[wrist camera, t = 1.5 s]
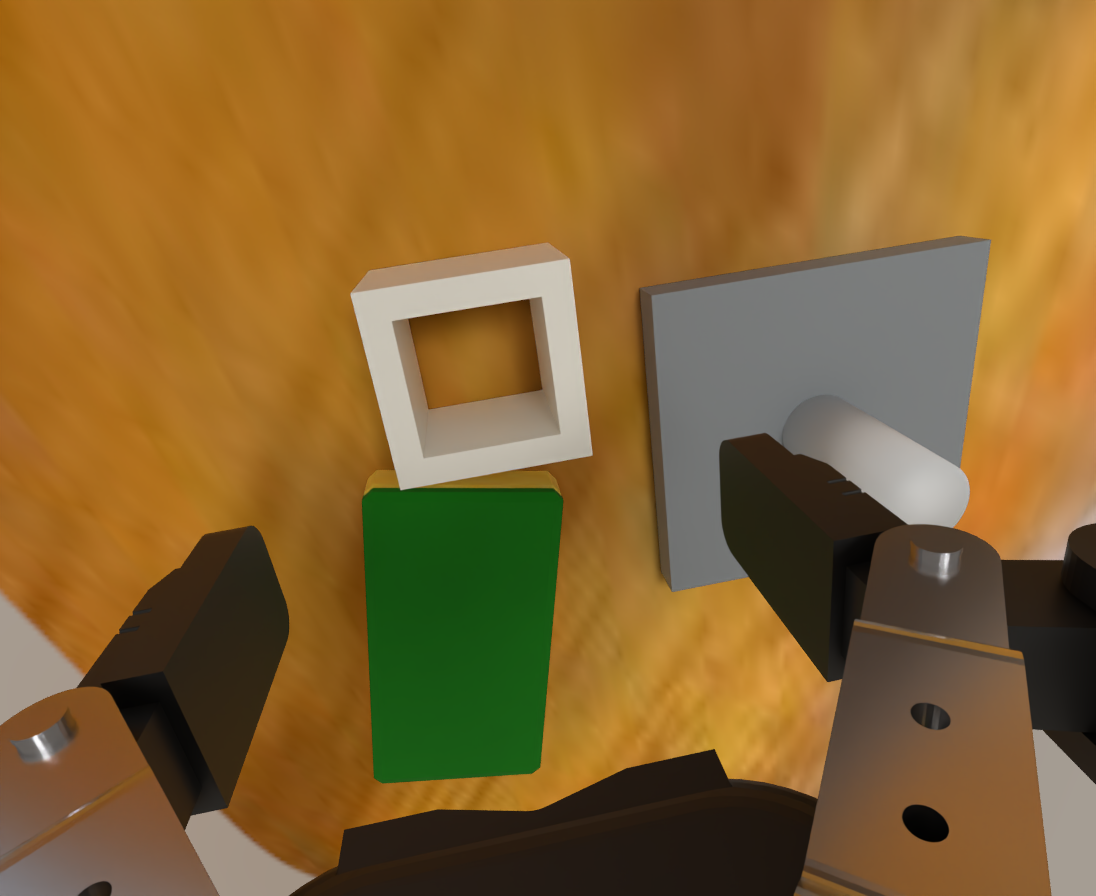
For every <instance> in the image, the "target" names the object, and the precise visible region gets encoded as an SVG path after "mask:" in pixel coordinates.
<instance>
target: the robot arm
mask: <svg viewBox="0 0 1096 896" xmlns="http://www.w3.org/2000/svg"><path fill="white" fill-rule="evenodd" d="M719 471H720V499H721V522H722V529H723V533H724V537H725V540H726V543H727V546H728V548H729V550H730V552H731V553H732V555H733V556H734V558H735V559H736V560H737V562H738V563H739V564H740V566H741V567H742V568H743V570H744V571H745V572H746V574H747V575H748V576H749V578H750V579H751V580H752V582H753V583H754V584H755V586H756V587H757V588H758V590H759V591H760V592H761V594H762V595H763V596H764V598H765V599H766V600H767V602H768V603H769V605H770V606H771V607H772V609H773V610H774V611H775V613H776V614H777V615H778V617H779V618H780V619H781V621H782V622H783V623H784V625H785V626H786V627H787V629H788V630H789V631H790V633H791V634H792V635H793V637H794V638H795V639H796V641H797V642H798V643H799V645H800V646H801V647H802V649H803V650H804V651H805V653H806V654H807V655H808V657H809V658H810V659H811V661H812V662H813V663H814V665H815V666H816V667H817V669H818V670H819V672H820V673H821V674H822V676H823V677H824V678H825V680H826V681H827V682H831V681H835V680H840V679H842V683H841V688H840V693H839V697H838V702H837V707H836V712H835V717H834V722H833V727H832V732H831V737H830V742H829V747H828V751H827V756H826V761H825V766H824V771H823V776H822V781H821V786H820V791H819V796H818V799H816V798H814V797H812V796H810V795H807V794H804V793H801V792H798V791H795V790H792V789H789V788H786V787H782V786H777V785H773V784H769V783H765V782H758V781H750V780H742V779H728V778H727V775H726V773H725V771H724V769H723V767H722V765H721V762H720V760H719V758H718V756H717V754H716V752H715V749H713V750H708V751H704V752H699V753H695V754H690V755H686V756H681V757H676V758H672V759H667V760H663V761H658V762H653V763H649V764H644V765H640V766H635V767H630V768H626V769H624V770H622V771H620V772H618V773H616V774H614V775H611V776H609V777H607V778H605V779H603V780H601V781H599V782H597V783H595V784H593V785H591V786H588V787H586V788H584V789H582V790H580V791H578V792H576V793H574V794H572V795H570V796H568V797H565V798H563V799H561V800H559V801H557V802H555V803H553V804H551V805H549V806H547V807H544V808H542V809H539V810H534V811H487V810H433V811H429V812H424V813H420V814H415V815H410V816H406V817H401V818H397V819H392V820H388V821H383V822H378V823H374V824H369V825H365V826H360V827H355V828H351V829H346V830H344V834H343V840H342V846H341V852H340V858H339V864H338V866H337V867H335V868H333V869H331V870H329V871H327V872H325V873H323V874H321V875H320V876H318V877H316V878H315V879H313V880H311V881H310V882H308V883H306V884H305V885H303V886H302V887H300V888H299V889H297V890H296V891H295V892H293V893H292V894H291V895H289V896H1051V888H1050V879H1049V870H1048V861H1047V853H1046V844H1045V836H1044V827H1043V818H1042V810H1041V801H1040V793H1039V784H1038V775H1037V767H1036V758H1035V749H1034V741H1033V732H1032V729H1037V730H1043V731H1044V732H1045V733H1046V734H1047V735H1048V736H1049V737H1050V738H1051V739H1052V740H1053V741H1054V742H1055V743H1056V744H1057V745H1058V746H1059V747H1060V748H1061V749H1062V750H1063V751H1064V753H1066V755H1067V756H1068V757H1069V758H1070V759H1071V760H1072V761H1073V762H1074V763H1075V764H1076V765H1077V766H1078V767H1079V768H1080V769H1081V770H1082V771H1083V772H1084V773H1085V774H1086V775H1087V776H1088V777H1089V778H1090V779H1091V780H1092V781H1093V782H1094V783H1095V784H1096V524H1090V525H1085V526H1082V527H1080V528H1077V529H1076V530H1074V531H1073V532H1072V533H1071V534H1070V535H1069V538H1068V542H1067V547H1066V552H1065V557H1064V560H1001V559H1000V556H999V554H998V553H997V551H996V550H995V549H994V548H993V547H992V546H991V545H989V544H988V543H987V542H985V541H984V540H982V539H980V538H978V537H977V536H974V535H972V534H970V533H967V532H964V531H961V530H958V529H954V528H950V527H945V526H939V525H930V524H911V525H908V524H907V523H905V522H904V521H903V520H901V519H900V518H899V517H897V516H896V515H895V514H893V513H892V512H891V511H890V510H888V509H887V508H886V507H884V506H883V505H882V504H880V503H879V502H878V501H876V500H875V499H874V498H872V497H871V496H870V495H868V494H867V493H866V492H863V493H862V491H861V488H859V487H858V486H857V485H855V484H854V483H853V482H851V481H850V480H849V481H847V480H846V477H845V476H843V475H842V474H841V473H839V472H838V471H837V470H835V469H834V468H833V467H832V466H830V465H829V464H827V463H825V462H822V461H819V460H816V459H814V458H811V457H808V456H805V455H803V454H796V455H793V454H792V453H791V452H790V451H788V450H787V449H786V448H785V447H783V446H782V445H781V444H780V443H779V442H777V441H776V440H775V439H774V438H772V437H771V436H770V435H768V434H767V433H761V434H755V435H750V436H744V437H739V438H733V439H728V440H723V441H722V443H721V445H720V449H719ZM119 631H120V634H117V635H115V636H114V638H113V639H112V640H111V642H110V643H109V644H108V646H107V647H106V648H105V650H104V651H103V653H102V654H101V655H100V657H99V658H98V659H97V661H96V662H95V663H94V665H93V666H92V667H91V669H90V670H89V672H88V673H87V674H86V676H85V677H84V678H83V680H82V681H81V682H80V684H79V685H78V687H77V688H75V689H71V690H67V691H64V692H61V693H57V694H55V695H52V696H50V697H47V698H45V699H43V700H41V701H39V702H36V703H35V704H33V705H31V706H29V707H27V708H25V709H24V710H22V711H20V712H19V713H17V714H16V715H14V716H13V717H11V718H10V719H9V720H7V721H6V722H4V723H3V724H2V725H0V896H220V895H219V894H218V892H217V890H216V888H215V886H214V885H213V883H212V881H211V879H210V877H209V875H208V873H207V872H206V870H205V868H204V866H203V864H202V862H201V860H200V858H199V856H198V855H197V853H196V851H195V849H194V847H193V845H192V844H191V842H190V840H189V838H188V836H187V834H186V832H185V829H186V826H187V824H188V821H189V819H190V816H191V815H196V814H200V813H205V812H210V811H215V810H219V809H224V808H228V806H229V803H230V800H231V797H232V794H233V791H234V789H235V786H236V783H237V780H238V777H239V775H240V772H241V769H242V766H243V763H244V761H245V758H246V755H247V752H248V749H249V746H250V744H251V741H252V738H253V735H254V732H255V730H256V727H257V724H258V721H259V718H260V716H261V713H262V710H263V707H264V704H265V701H266V699H267V696H268V693H269V690H270V687H271V685H272V682H273V679H274V676H275V673H276V671H277V668H278V665H279V662H280V659H281V656H282V654H283V651H284V648H285V645H286V642H287V639H288V634H289V615H288V609H287V604H286V601H285V598H284V595H283V593H282V590H281V587H280V584H279V582H278V579H277V576H276V573H275V570H274V568H273V565H272V562H271V559H270V557H269V554H268V551H267V548H266V545H265V543H264V540H263V537H262V535H261V533H260V532H259V530H258V529H257V528H256V527H254V526H247V527H242V528H237V529H231V530H226V531H220V532H215V533H209V534H205V535H204V536H203V537H202V538H201V539H200V541H199V542H198V543H197V545H196V546H195V548H194V549H193V551H192V552H191V554H190V555H189V556H188V558H187V559H186V561H185V562H184V564H183V565H182V566H181V568H179V569H175V570H173V571H172V572H171V573H170V574H168V575H167V576H166V577H165V578H163V579H162V580H161V581H159V582H158V583H157V584H156V585H154V586H153V587H152V588H150V589H149V590H148V591H147V593H146V594H145V595H144V597H143V598H142V600H141V601H140V602H139V604H138V605H137V606H136V608H135V609H134V610H133V616H129V617H128V619H127V620H126V621H125V623H124V624H123V625H122V627H121V628H120V629H119Z"/></svg>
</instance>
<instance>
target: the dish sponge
mask: <svg viewBox="0 0 1096 896" xmlns="http://www.w3.org/2000/svg"><path fill="white" fill-rule="evenodd" d="M562 511H563V498H562V496H561V492H560V489H559V486H558V484H557V481H556V479H555V478H554V477H553V476H552V475H551V474H550V473H549V472H548V471H504V472H499V473H493V474H488V475H482V476H477V477H471V478H466V479H460V480H455V481H449V482H444V483H438V484H433V485H427V486H421V487H416V488H410V489H405V490H400V486H399V482H398V478H397V475H396V471H395V470H376V471H375V472H374V473H373V474H372V475H371V476H370V477H369V478H368V480H367V484H366V487H365V491H364V496H363V499H362V515H363V538H364V561H365V584H366V606H367V629H368V652H369V675H370V698H371V721H372V744H373V767H374V778H375V779H376V780H378V781H379V782H381V783H396V782H411V781H426V780H442V779H457V778H472V777H487V776H502V775H518V774H532V773H533V772H535V771H536V770H537V769H539V768H540V763H541V752H542V740H543V729H544V717H545V706H546V695H547V683H548V672H549V660H550V649H551V637H552V626H553V614H554V603H555V591H556V580H557V568H558V557H559V545H560V534H561V523H562Z"/></svg>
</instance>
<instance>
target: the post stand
mask: <svg viewBox="0 0 1096 896" xmlns="http://www.w3.org/2000/svg"><path fill="white" fill-rule="evenodd" d="M990 243H991V240H988V239H980V238H973V237H965V236H956V237H950V238H944V239H938V240H932V241H925V242H919V243H913V244H907V245H901V246H895V247H889V248H882V249H876V250H870V251H864V252H858V253H852V254H846V255H840V256H833V257H827V258H821V259H815V260H809V261H803V262H797V263H791V264H784V265H778V266H772V267H766V268H760V269H754V270H748V271H741V272H735V273H729V274H723V275H717V276H711V277H705V278H699V279H692V280H686V281H680V282H674V283H668V284H662V285H656V286H650V287H643V288H640V300H641V314H642V327H643V340H644V353H645V366H646V379H647V392H648V405H649V419H650V432H651V445H652V458H653V471H654V484H655V497H656V511H657V524H658V537H659V550H660V563H661V572H662V574H663V576H664V578H665V580H666V582H667V583H668V585H669V587H670V589H671V591H672V592H675V591H680V590H685V589H690V588H695V587H700V586H705V585H710V584H715V583H720V582H725V581H730V580H735V579H740V578H745V577H749V576H748V575H747V574H746V572H745V571H744V570H743V568H742V567H741V566H740V564H739V563H738V562H737V560H736V559H735V558H734V556H733V555H732V553H731V552H730V550H729V548H728V546H727V543H726V540H725V537H724V533H723V529H722V522H721V499H720V471H719V449H720V445H721V443H722V441H723V440H728V439H733V438H739V437H744V436H750V435H755V434H761V433H767V434H768V435H770V436H771V437H772V438H774V439H775V440H776V441H777V442H779V443H780V444H781V445H782V446H783V447H785V448H786V449H787V450H788V451H790V452H791V453H792V454H793V455H796V454H803V455H805V456H808V457H811V458H814V459H816V460H819V461H822V462H825V463H827V464H829V465H830V466H832V467H833V468H834V469H835V470H837V471H838V472H839V473H841V474H842V475H843V476H845V477H846V480H847V481H849V480H850V481H851V482H853V483H854V484H855V485H857V486H858V487H859V488H861V491H862V493H863V492H866V493H867V494H868V495H870V496H871V497H872V498H874V499H875V500H876V501H878V502H879V503H880V504H882V505H883V506H884V507H886V508H887V509H888V510H890V511H891V512H892V513H893V514H895V515H896V516H897V517H899V518H900V519H901V520H903V521H904V522H905V523H907V524H908V525H911V524H930V525H939V526H945V527H950V528H953V527H954V526H955V525H956V524H957V522H958V521H959V520H960V518H961V517H962V515H963V514H964V512H965V509H966V507H967V504H968V501H969V495H970V487H969V482H968V479H967V477H966V475H965V474H964V472H963V471H962V470H961V469H960V463H961V456H962V449H963V441H964V434H965V427H966V419H967V412H968V405H969V397H970V390H971V383H972V375H973V368H974V361H975V353H976V346H977V339H978V331H979V324H980V316H981V309H982V302H983V294H984V287H985V280H986V272H987V265H988V258H989V250H990Z"/></svg>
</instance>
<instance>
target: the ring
mask: <svg viewBox="0 0 1096 896" xmlns="http://www.w3.org/2000/svg"><path fill="white" fill-rule="evenodd" d="M350 294H351V298H352V302H353V306H354V310H355V314H356V318H357V322H358V326H359V329H360V333H361V337H362V341H363V345H364V349H365V353H366V357H367V361H368V365H369V369H370V373H371V377H372V380H373V384H374V388H375V392H376V396H377V400H378V404H379V408H380V412H381V416H382V420H383V424H384V427H385V431H386V435H387V439H388V443H389V447H390V451H391V455H392V459H393V463H394V467H395V471H396V475H397V478H398V482H399V486H400V490H405V489H410V488H416V487H421V486H427V485H433V484H438V483H444V482H449V481H455V480H460V479H466V478H471V477H477V476H482V475H488V474H493V473H499V472H504V471H510V470H516V469H521V468H527V467H532V466H538V465H543V464H549V463H554V462H560V461H565V460H571V459H576V458H582V457H587V456H593V453H592V445H591V436H590V428H589V419H588V411H587V402H586V394H585V385H584V377H583V368H582V359H581V351H580V342H579V334H578V325H577V317H576V308H575V300H574V291H573V283H572V274H571V266H570V259H569V258H568V257H567V256H565V255H564V254H563V253H561V252H560V251H559V250H557V249H556V248H555V247H553V246H552V245H551V244H549V243H541V244H535V245H529V246H522V247H516V248H510V249H503V250H497V251H490V252H484V253H478V254H471V255H465V256H458V257H452V258H446V259H439V260H433V261H426V262H420V263H414V264H407V265H401V266H395V267H388V268H382V269H375V270H369V271H368V273H367V274H366V275H365V276H364V277H363V279H362V280H361V281H360V282H359V283H358V285H357V286H356V287H355V288H354V290H353V291H352V292H351V293H350ZM524 299H529V300H530V307H531V314H532V321H533V328H534V335H535V342H536V349H537V356H538V362H539V369H540V376H541V383H542V390H539V391H533V392H528V393H522V394H516V395H510V396H504V397H499V398H493V399H487V400H481V401H475V402H470V403H464V404H458V405H452V406H446V407H441V408H435V409H429V410H428V405H427V401H426V397H425V392H424V388H423V383H422V379H421V374H420V370H419V365H418V361H417V356H416V352H415V347H414V343H413V338H412V334H411V329H410V325H409V320H408V318H414V317H420V316H426V315H432V314H438V313H444V312H451V311H457V310H463V309H469V308H475V307H481V306H487V305H494V304H500V303H506V302H512V301H518V300H524Z"/></svg>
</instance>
